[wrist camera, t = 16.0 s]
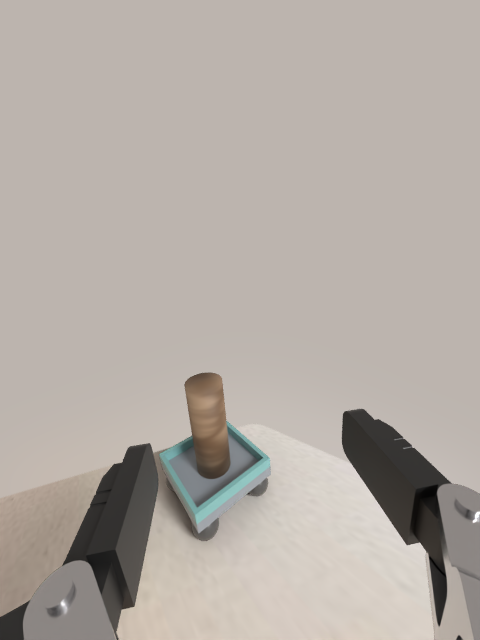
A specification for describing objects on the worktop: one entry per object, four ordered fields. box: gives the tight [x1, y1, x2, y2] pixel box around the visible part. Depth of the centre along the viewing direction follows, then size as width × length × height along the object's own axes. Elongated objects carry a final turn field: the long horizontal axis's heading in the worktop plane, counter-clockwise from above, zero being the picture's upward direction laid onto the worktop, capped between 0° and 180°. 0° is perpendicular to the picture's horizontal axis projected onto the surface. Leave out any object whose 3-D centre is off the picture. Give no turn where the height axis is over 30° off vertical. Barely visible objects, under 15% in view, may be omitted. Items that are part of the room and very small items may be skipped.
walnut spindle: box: [185, 373, 231, 479], centre depth 35 cm, size 5×5×14 cm
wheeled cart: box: [159, 421, 271, 541], centre depth 38 cm, size 12×12×6 cm
